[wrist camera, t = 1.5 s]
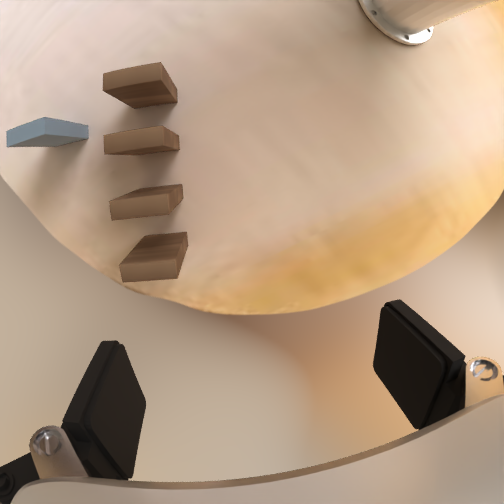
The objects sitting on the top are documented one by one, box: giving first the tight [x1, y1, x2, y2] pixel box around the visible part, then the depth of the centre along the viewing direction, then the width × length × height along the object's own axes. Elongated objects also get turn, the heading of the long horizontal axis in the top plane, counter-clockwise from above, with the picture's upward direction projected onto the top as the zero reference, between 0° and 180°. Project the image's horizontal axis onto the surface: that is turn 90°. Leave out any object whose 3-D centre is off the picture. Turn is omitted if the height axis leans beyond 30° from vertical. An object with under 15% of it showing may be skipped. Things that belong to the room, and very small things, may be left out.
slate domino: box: [7, 117, 88, 147], centre depth 23 cm, size 2×5×10 cm, turn 93°
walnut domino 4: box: [119, 232, 188, 282], centre depth 29 cm, size 2×5×10 cm, turn 93°
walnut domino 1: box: [103, 62, 177, 109], centre depth 24 cm, size 2×5×10 cm, turn 93°
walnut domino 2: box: [104, 126, 180, 155], centre depth 25 cm, size 2×5×10 cm, turn 93°
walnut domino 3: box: [109, 184, 183, 220], centre depth 27 cm, size 2×5×10 cm, turn 93°
